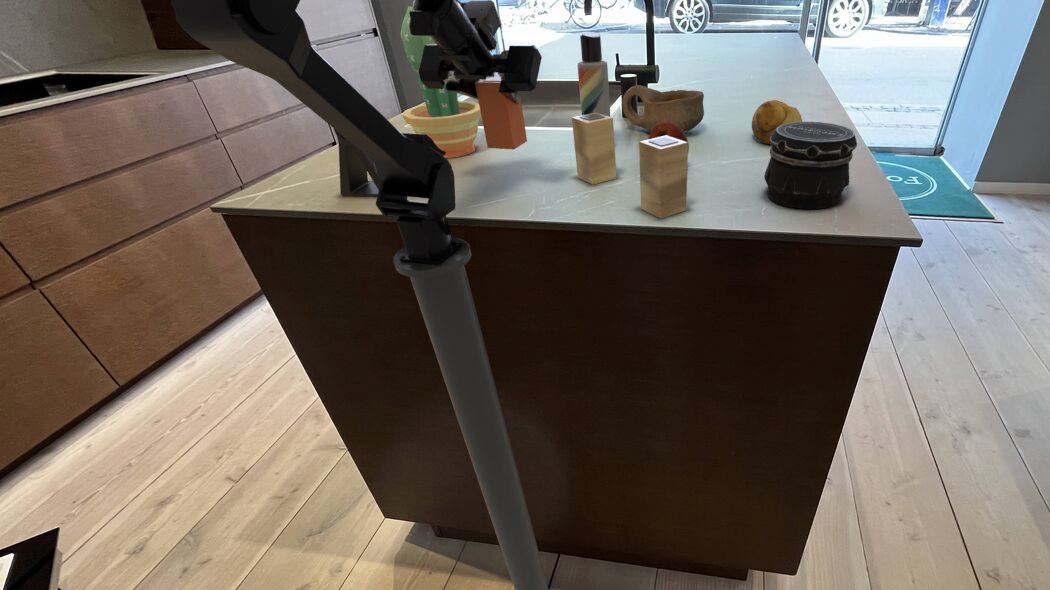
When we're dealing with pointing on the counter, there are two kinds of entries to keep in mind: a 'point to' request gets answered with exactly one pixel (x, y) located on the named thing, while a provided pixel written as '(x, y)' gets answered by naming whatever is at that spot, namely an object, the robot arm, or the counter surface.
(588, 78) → the lotion bottle
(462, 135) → the potted cactus
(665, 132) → the apple
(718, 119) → the counter surface
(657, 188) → the maple block front
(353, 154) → the phone stand
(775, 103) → the bread roll
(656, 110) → the bowl
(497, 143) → the terracotta block
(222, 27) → the robot arm
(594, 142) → the maple block back
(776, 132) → the container
